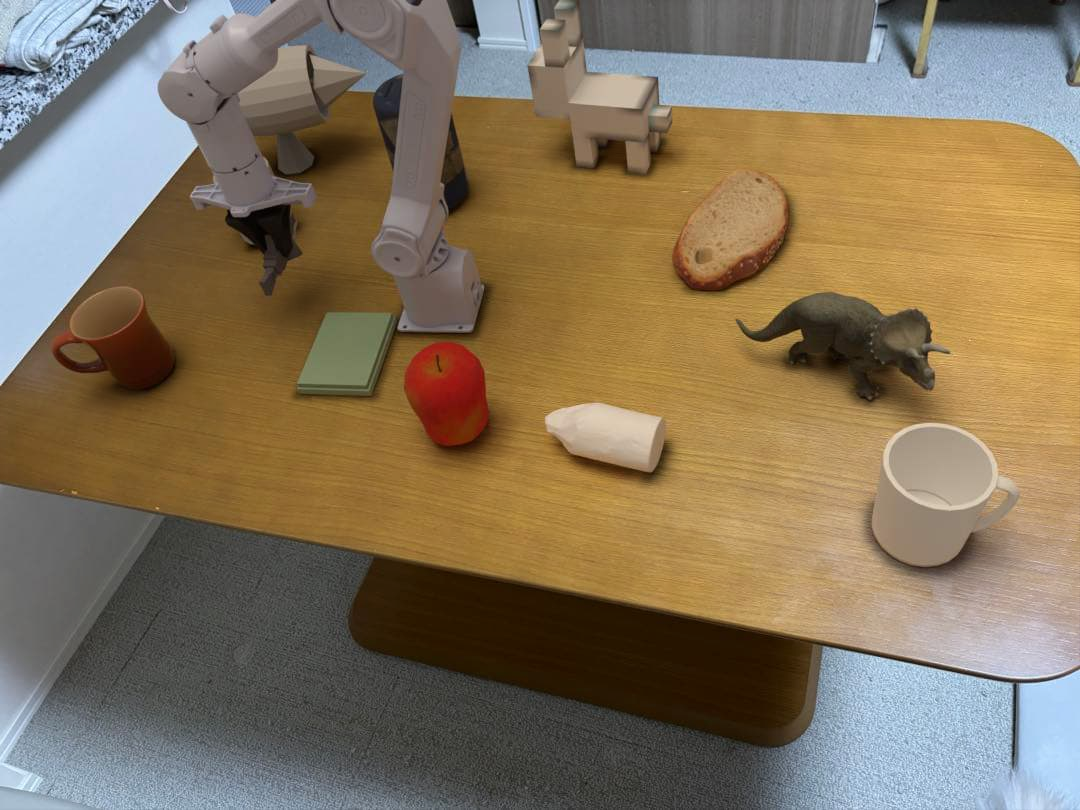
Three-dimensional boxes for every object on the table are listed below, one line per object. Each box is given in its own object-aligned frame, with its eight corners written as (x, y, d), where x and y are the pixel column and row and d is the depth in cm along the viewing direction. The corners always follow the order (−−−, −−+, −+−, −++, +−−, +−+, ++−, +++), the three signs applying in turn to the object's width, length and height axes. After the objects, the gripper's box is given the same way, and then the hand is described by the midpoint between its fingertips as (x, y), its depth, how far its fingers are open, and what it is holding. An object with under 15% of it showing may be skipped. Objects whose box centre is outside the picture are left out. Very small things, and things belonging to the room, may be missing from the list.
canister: (392, 214, 124) (353, 98, 110) (422, 173, 129) (388, 57, 115) (453, 224, 120) (420, 106, 107) (482, 181, 126) (454, 63, 112)
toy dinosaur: (728, 349, 99) (730, 274, 91) (769, 304, 103) (775, 228, 94) (917, 440, 88) (940, 364, 80) (956, 385, 92) (983, 308, 83)
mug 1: (175, 335, 114) (136, 275, 106) (190, 377, 109) (150, 318, 101) (84, 375, 112) (37, 317, 104) (94, 421, 106) (45, 363, 99)
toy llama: (663, 176, 121) (657, 36, 105) (543, 162, 126) (521, 28, 111) (678, 143, 125) (674, 4, 109) (561, 131, 130) (542, -2, 115)
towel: (397, 321, 110) (394, 311, 109) (371, 396, 103) (367, 386, 101) (329, 320, 112) (325, 310, 110) (299, 394, 104) (294, 384, 103)
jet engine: (340, 203, 127) (297, 93, 114) (231, 182, 134) (178, 76, 121) (392, 142, 135) (357, 32, 122) (286, 125, 142) (243, 20, 129)
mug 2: (859, 558, 81) (875, 496, 73) (873, 480, 86) (890, 413, 78) (990, 590, 78) (1023, 528, 70) (998, 506, 83) (1029, 439, 75)
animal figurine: (289, 302, 107) (271, 276, 102) (255, 301, 108) (236, 276, 103) (314, 224, 112) (298, 196, 108) (282, 224, 113) (264, 196, 109)
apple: (427, 399, 101) (399, 327, 92) (500, 394, 100) (479, 320, 91) (418, 461, 96) (388, 391, 87) (495, 457, 94) (473, 385, 85)
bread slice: (760, 172, 118) (762, 148, 115) (831, 253, 107) (834, 228, 104) (634, 213, 116) (632, 190, 114) (692, 300, 105) (692, 277, 102)
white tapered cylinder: (560, 414, 97) (553, 381, 93) (667, 438, 93) (665, 404, 89) (540, 457, 94) (532, 425, 89) (649, 484, 90) (647, 451, 85)
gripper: (160, 181, 97) (213, 274, 107) (283, 178, 94) (325, 274, 104) (185, 143, 101) (234, 235, 112) (303, 138, 98) (342, 234, 109)
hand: (279, 251), depth 108 cm, fingers closed on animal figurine, 2 cm apart
